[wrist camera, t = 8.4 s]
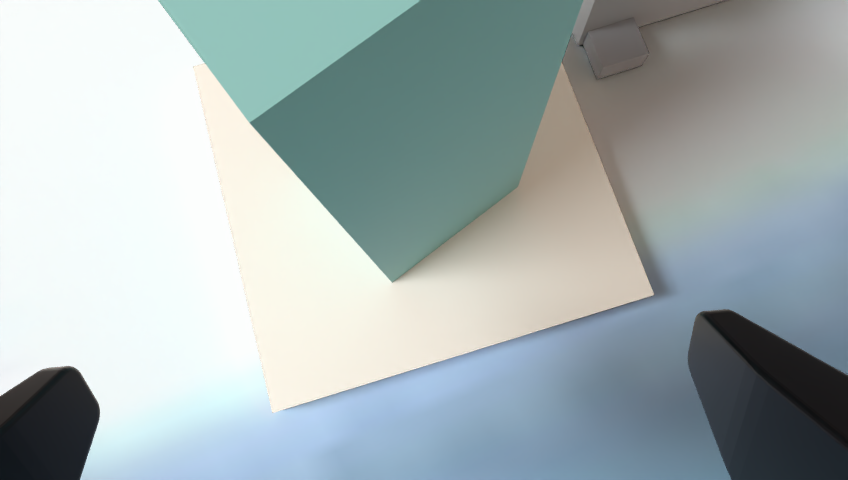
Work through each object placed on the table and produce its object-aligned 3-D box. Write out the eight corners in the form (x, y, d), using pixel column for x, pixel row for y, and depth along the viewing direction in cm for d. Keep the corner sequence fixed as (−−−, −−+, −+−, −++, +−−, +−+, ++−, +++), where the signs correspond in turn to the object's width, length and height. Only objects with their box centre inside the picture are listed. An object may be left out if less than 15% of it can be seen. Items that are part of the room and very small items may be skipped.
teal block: (518, 187, 18) (637, -155, 6) (392, 282, 17) (248, 122, 5) (418, 70, 19) (350, -420, 7) (297, 157, 18) (7, -203, 6)
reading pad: (645, 297, 17) (654, 294, 17) (280, 410, 17) (272, 413, 17) (521, -20, 20) (523, -35, 19) (203, 77, 20) (193, 66, 19)
